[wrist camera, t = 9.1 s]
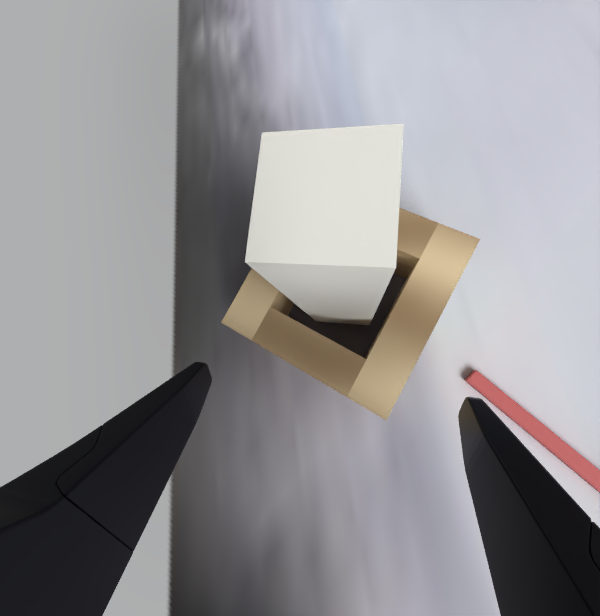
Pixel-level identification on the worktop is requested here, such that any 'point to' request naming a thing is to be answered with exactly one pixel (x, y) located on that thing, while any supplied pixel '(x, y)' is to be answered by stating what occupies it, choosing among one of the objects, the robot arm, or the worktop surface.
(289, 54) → the worktop surface
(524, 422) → the red square stick
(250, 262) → the white rectangular block
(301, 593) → the worktop surface
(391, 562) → the worktop surface
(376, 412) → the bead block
